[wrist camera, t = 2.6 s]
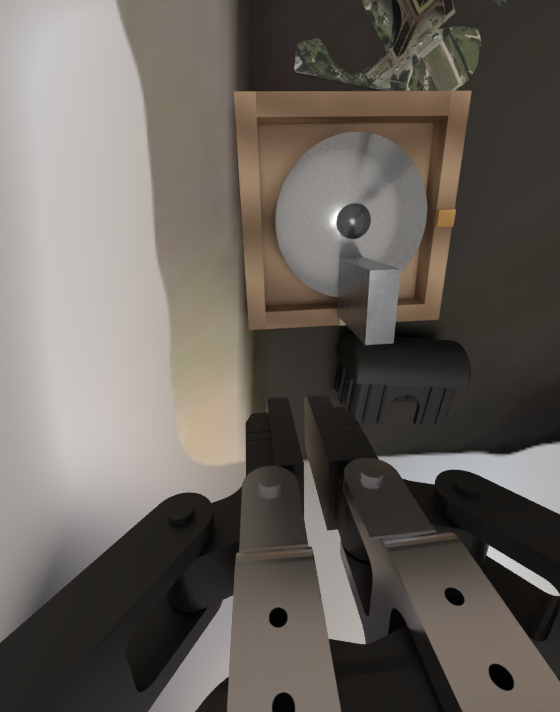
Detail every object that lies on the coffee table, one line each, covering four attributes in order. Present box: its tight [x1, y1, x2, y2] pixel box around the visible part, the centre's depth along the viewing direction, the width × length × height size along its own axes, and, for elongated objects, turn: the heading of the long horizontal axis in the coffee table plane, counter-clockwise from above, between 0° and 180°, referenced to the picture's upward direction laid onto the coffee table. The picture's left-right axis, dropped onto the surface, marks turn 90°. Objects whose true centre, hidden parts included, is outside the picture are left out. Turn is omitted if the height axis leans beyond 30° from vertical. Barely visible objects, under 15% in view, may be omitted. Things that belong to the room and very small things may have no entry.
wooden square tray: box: [234, 91, 471, 330], centre depth 28 cm, size 16×16×4 cm
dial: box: [274, 132, 427, 345], centre depth 23 cm, size 13×11×9 cm
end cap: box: [335, 334, 471, 425], centre depth 32 cm, size 10×7×7 cm
